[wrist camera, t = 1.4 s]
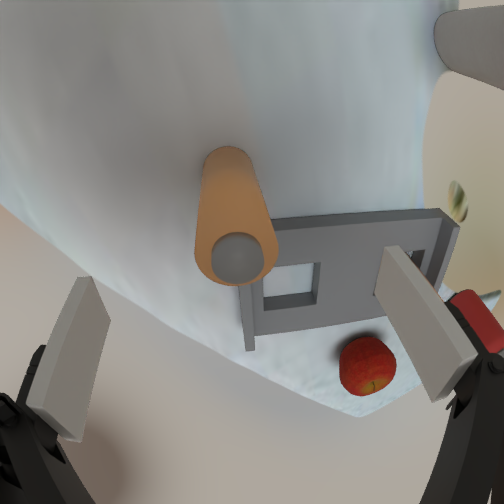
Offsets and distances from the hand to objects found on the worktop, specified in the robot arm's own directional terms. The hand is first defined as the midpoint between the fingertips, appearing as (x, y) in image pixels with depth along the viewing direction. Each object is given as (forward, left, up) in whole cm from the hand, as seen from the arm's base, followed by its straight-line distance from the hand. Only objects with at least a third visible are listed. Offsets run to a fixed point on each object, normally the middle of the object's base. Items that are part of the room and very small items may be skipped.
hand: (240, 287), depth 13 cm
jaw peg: (0, 0, -14) cm, 14 cm away
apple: (+25, +15, -14) cm, 33 cm away
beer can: (+21, +32, -14) cm, 41 cm away
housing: (+11, +11, -14) cm, 21 cm away
